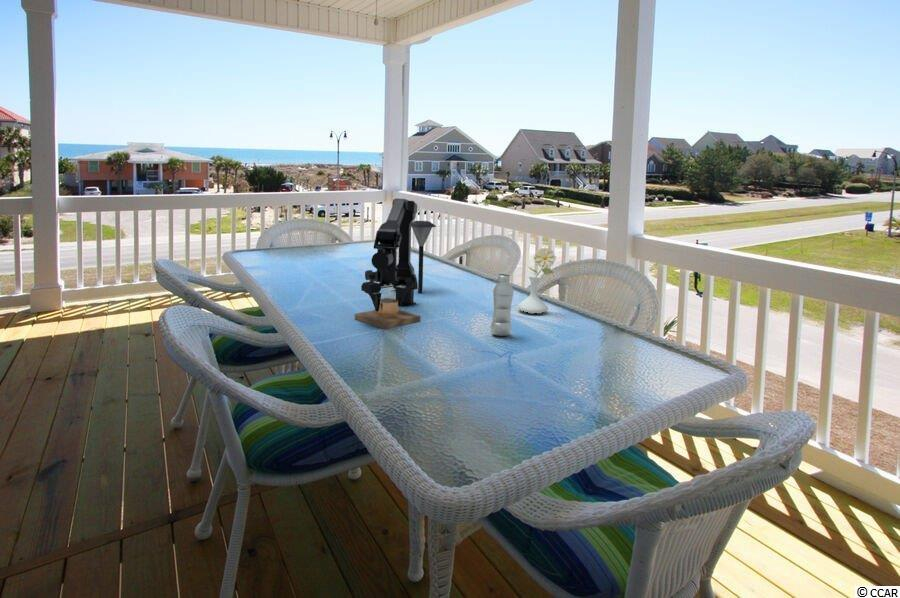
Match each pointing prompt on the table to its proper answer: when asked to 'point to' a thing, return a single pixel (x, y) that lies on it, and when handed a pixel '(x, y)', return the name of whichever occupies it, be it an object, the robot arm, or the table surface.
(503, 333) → the plastic bottle
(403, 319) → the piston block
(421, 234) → the solar garden light
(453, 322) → the table surface
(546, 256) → the flower in vase
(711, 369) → the table surface
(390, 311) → the brown octagonal cup
